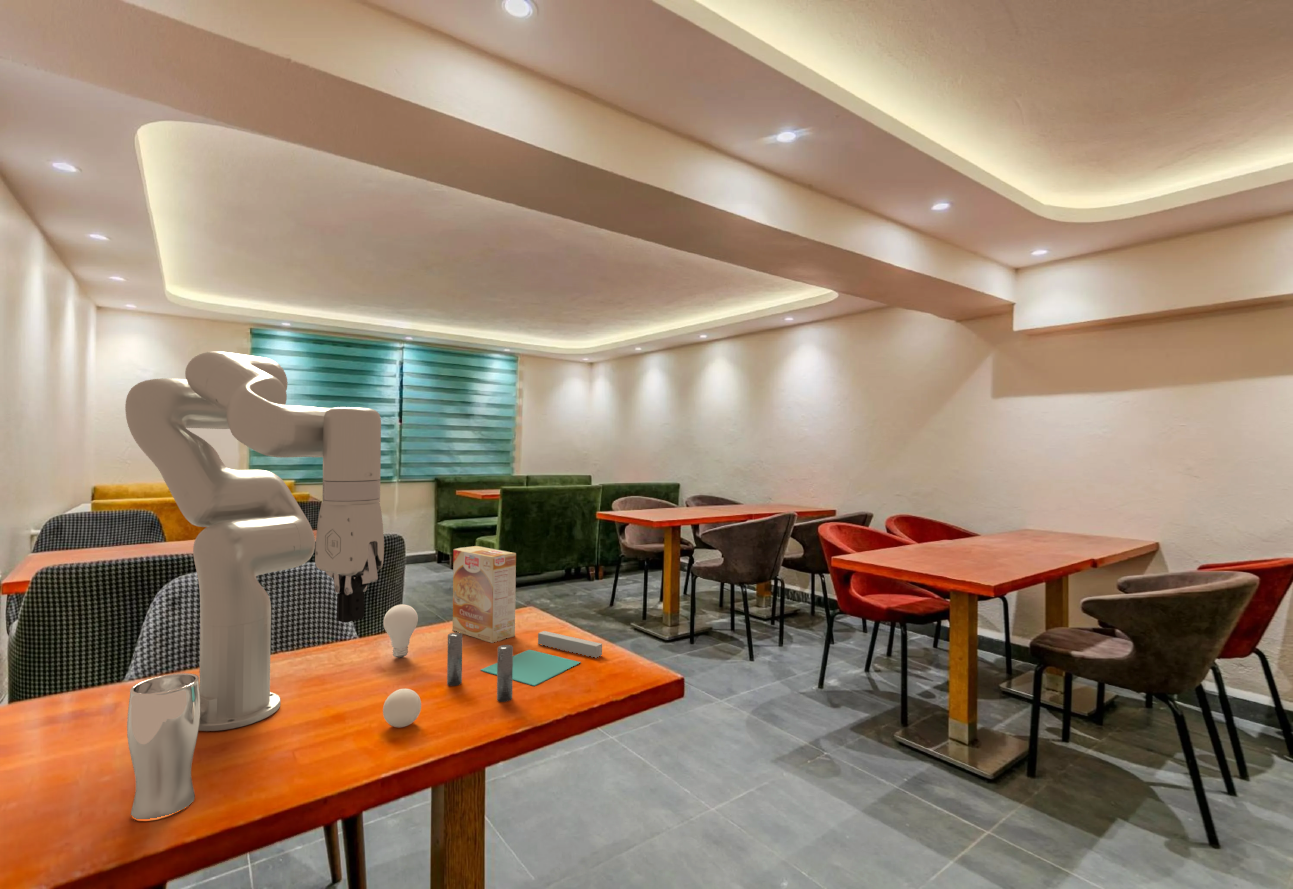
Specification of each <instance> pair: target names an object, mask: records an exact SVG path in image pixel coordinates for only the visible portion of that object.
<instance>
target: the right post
mask: <svg viewBox="0 0 1293 889" xmlns="http://www.w3.org/2000/svg"><path fill="white" fill-rule="evenodd" d="M513 656H514V647H513V645H511V644H502V645H499V646H497V662H496V663H497V675H496V677H497V679H496V687H497V688H496V701H498V702H501V703H506V702H510V701H512V700H513V681H514V680H513Z"/></svg>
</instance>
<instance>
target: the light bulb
mask: <svg viewBox="0 0 1293 889" xmlns="http://www.w3.org/2000/svg"><path fill="white" fill-rule="evenodd" d="M418 617H419V616H418V613H417V611H416V609H414V608H413V606H411V605H408V604H402V603H400V604H396V605H394V606H392V607H391V608H389V610H388V611H386V613H385V615H384V617H383V622H382V623H383V628H384V631H385V632H386V633H387V635H388V636H389V638H390V641H391V642H390V643H391V646H392V648H393V649H392V656H393V657H394V658H398V659H402V658H404V657H406V656H407V655H408V653H409V645H410V640H411V637H412V635H413V633H414V631H415V630H416V628H417V626H418V622H419V621H418V620H419V618H418Z"/></svg>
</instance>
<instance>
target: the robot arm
mask: <svg viewBox="0 0 1293 889" xmlns="http://www.w3.org/2000/svg"><path fill="white" fill-rule="evenodd" d="M184 376H185V378H168V377H167V378H152V379H151V378H150V379H146V380H144V381H139V382H138V383H137V384H135V385H134V386H131V388H130V389H129V391H128V392H127V395H126V399H125V404H124V405H125V408H124V410H125V418H126V423H127V427H128V429H129V432H130V434H131V436H132V438H133V439H134V441H135V443H136V444H137V445H138V447H139V448H140V449H141V451H142V452H143V453H144V454H145V456H147V458H148V459H149V460H150V461H151V462H152V463H153V465H154V466H155V467H156V469H158V470H157V471H158V472H159V473H160V474H161V476H162V478H163V481H164V483H165V485H166V486H167V488H168V490H169V493H170V494H171V496H172V497H173V500H174V501H175V503H176V505H177V507H178V509H179V511H180V512H181V514H182V515H183V517H184V518H185V520H187V522H189V523H190V524H191V525H192V526H196V527H199V528H200V527H201V528H204V529H203V530H201V531H200V532H199V533H198V535H197V536H196V537H195V540H194V543H193V546H192V548H193V549H192V550H193V551H192V553H193V554H192V555H193V561H194V565H195V566H194V567H195V569H196V570H195V571H196V575H197V581H198V587H199V588H198V589H199V602H200V603H199V606H200V608H199V612H200V613H199V614H200V617H199V622H200V623H199V624H200V626H199V633H200V634H199V690H200V706H201V712H200V724H199V731H202V732H210V731H211V732H215V731H216V732H217V731H226V730H232V729H237V728H241V727H245V726H248V725H252V724H255V723H257V722H260V721H262V720H265V719H266V718H268V717H271V716H272V715H273V714H275V713H276V712H277V711H278V710H279V708H280V707H281V704H282V703H281V701H282V700H281V697H280V695H279V694H277V693H274V692H271V645H272V644H271V638H272V637H271V635H272V634H271V633H272V631H271V630H272V604H271V598H270V596H269V594H268V592H267V591H266V590H265V588H264V587H263V586H262V585H261V584H260V582H259V581H258V579H257V577H258V576H263V575H264V574H269V573H275V572H281V571H285V570H290V569H294V568H299V567H300V566H303V565H304V564H306V563H307V562H308V561H310V560H311V558H312V556H313V555H314V564H315V567H316V568H317V569H319V570H320V571H322V572H325V574H326V575H327V576H329V577H330V578H332V580H333V584H334V591H335V592H336V621H338V622H342V623H344V624H345V623H346V624H347V623H350V622H354V621H357V620H361V619H363V618H364V617H365V592H366V591H367V589H368V585H369V584H371V583H375V582H377V581H378V579H379V576H378V572H379V570H381V569H382V568H383V564H384V556H385V539H384V538H385V537H384V536H385V535H384V524H383V523H384V522H383V514H382V509H381V468H382V467H381V463H382V462H381V461H382V460H381V459H382V458H381V457H382V455H381V454H382V452H381V451H382V450H381V449H382V448H381V447H382V446H381V445H382V442H381V441H382V439H381V438H382V419H381V418H382V417H381V415H380V413H379V411H377V410H376V409H372V408H370V407H369V408H368V407H353V406H351V407H350V406H347V407H346V406H340V407H339V406H337V407H317V406H309V405H292V404H287V397H288V396H287V390H288V385H289V384H288V376H287V374H286V371H285V370H284V368H283V367H282V365H280V364H279V363H278V362H277V361H275V360H273V359H271V358H268V357H263V356H257V355H249V354H243V353H235V352H227V351H221V350H220V351H216V350H215V351H206V352H203V353H199V354H198V355H196V356H194V357H193V358H192V359H191V360H190V361H189V362H188V363H187V365H186V367H185V375H184ZM189 429H207V430H210V429H212V430H213V429H215V430H216V429H217V430H230V433H231V434H232V436H233V438H234V439H236V440H237V441H238V442H240V443H241V444H243V445H244V446H246V447H248V448H249V449H251V450H253V451H254V452H256V453H259V454H262V455H263V456H267V457H271V458H272V457H273V458H322V502H321V503H320V509H319V512H318V517H317V518H318V519H317V523H316V524H317V526H316V534H314V531H313V527H312V526H311V523H310V522H309V520H308V518H307V517H306V514H305V513H304V512H303V510H302V508H301V506H300V505H299V503H298V502H297V500H296V498H295V496H294V495H293V494H292V491H291V490H290V488H289V487H288V485H287V484H286V482H285V481H284V479H282V478H281V477H280V476H279V475H278V474H276V473H274V472H271V471H269V470H264V469H233V468H229V467H228V466H227V465H226V464H225V463H224V461H222V459H221V457H220V455H219V453H218V452H217V451H216V449H215V448H214V447H213V445H211V444H210V443H209V442H207V441H206V440H205V439H204V438H202V437H200V436H199V435H197V434H195V433H193V432H192V431H190V430H189ZM315 535H316V537H315ZM314 553H315V554H314ZM199 731H198V732H199Z"/></svg>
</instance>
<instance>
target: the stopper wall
mask: <svg viewBox="0 0 1293 889" xmlns="http://www.w3.org/2000/svg"><path fill="white" fill-rule="evenodd" d="M538 644H542V645H541V646H543V645H545V646H544V647H547V646H548V647H547V648H551V647H553V648H552V649H555V648H557V649H556V650H559V649H560V651H564V650H565V651H564V652H568V651H569V652H568V653H572V652H573V653H572V654H576V653H578V654H577V655H580V654H582V655H581V656H584V655H586V656H585V657H589V656H591V657H590V658H593V657H595V658H594V659H598V658H600V657H602V656H603V643H601V642H596V641H592V640H587V639H583V638H577V637H574V636H568V635H564V634H560V633H555V632H551V631H546V630H543V631H540V632H538V633H537V645H538ZM601 655H602V656H601ZM599 656H600V657H599ZM597 657H598V658H597Z"/></svg>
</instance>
